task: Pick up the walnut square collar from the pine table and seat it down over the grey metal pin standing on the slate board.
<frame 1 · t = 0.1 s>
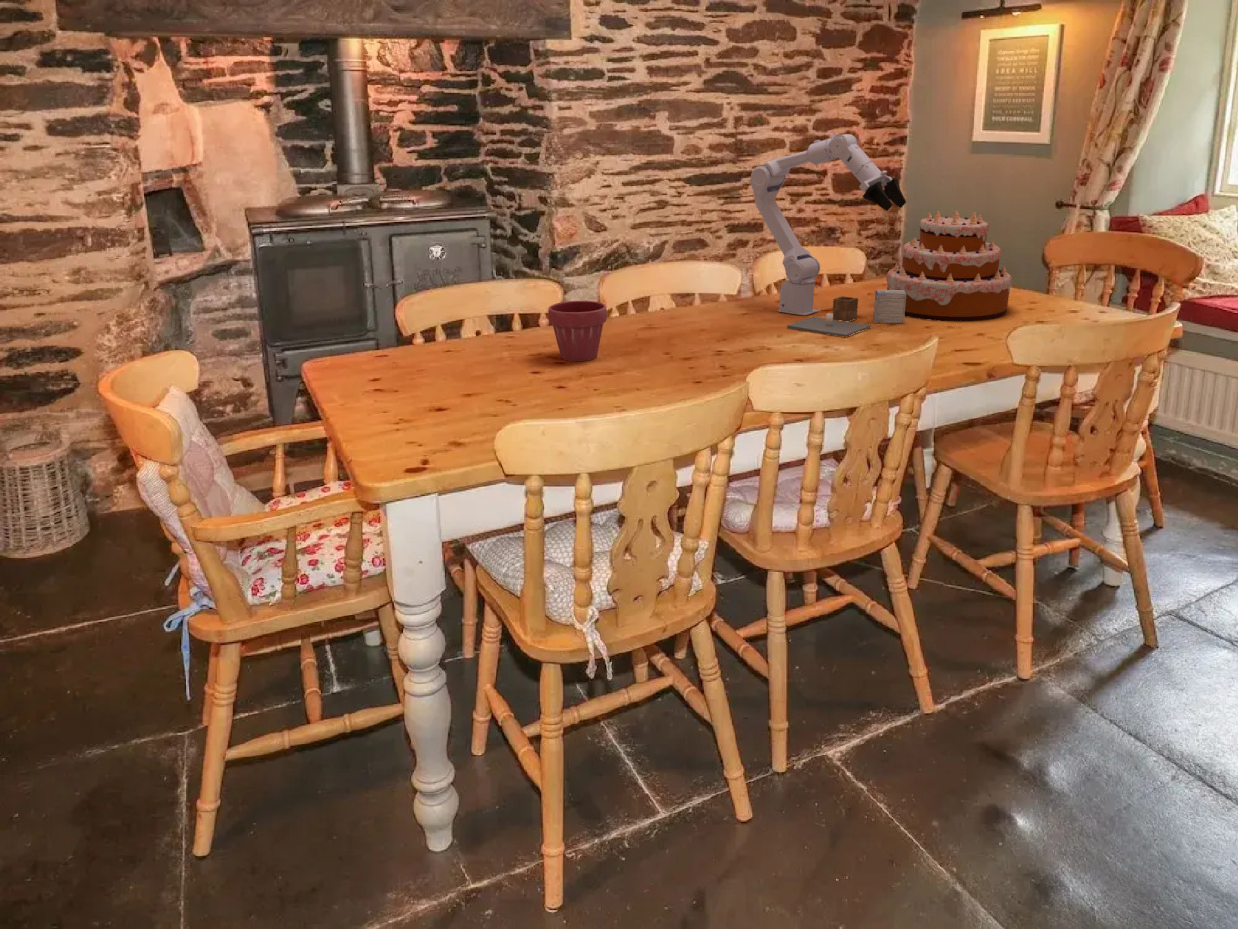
hand: (896, 206, 266), 32 cm above the table, tool tilted 50°, fingers open, 7 cm apart
walnut collar: (844, 319, 285), on the table
medicine box: (888, 322, 282), on the table
cake: (945, 309, 297), on the table
pin board: (829, 328, 275), on the table
plant pot: (578, 357, 250), on the table
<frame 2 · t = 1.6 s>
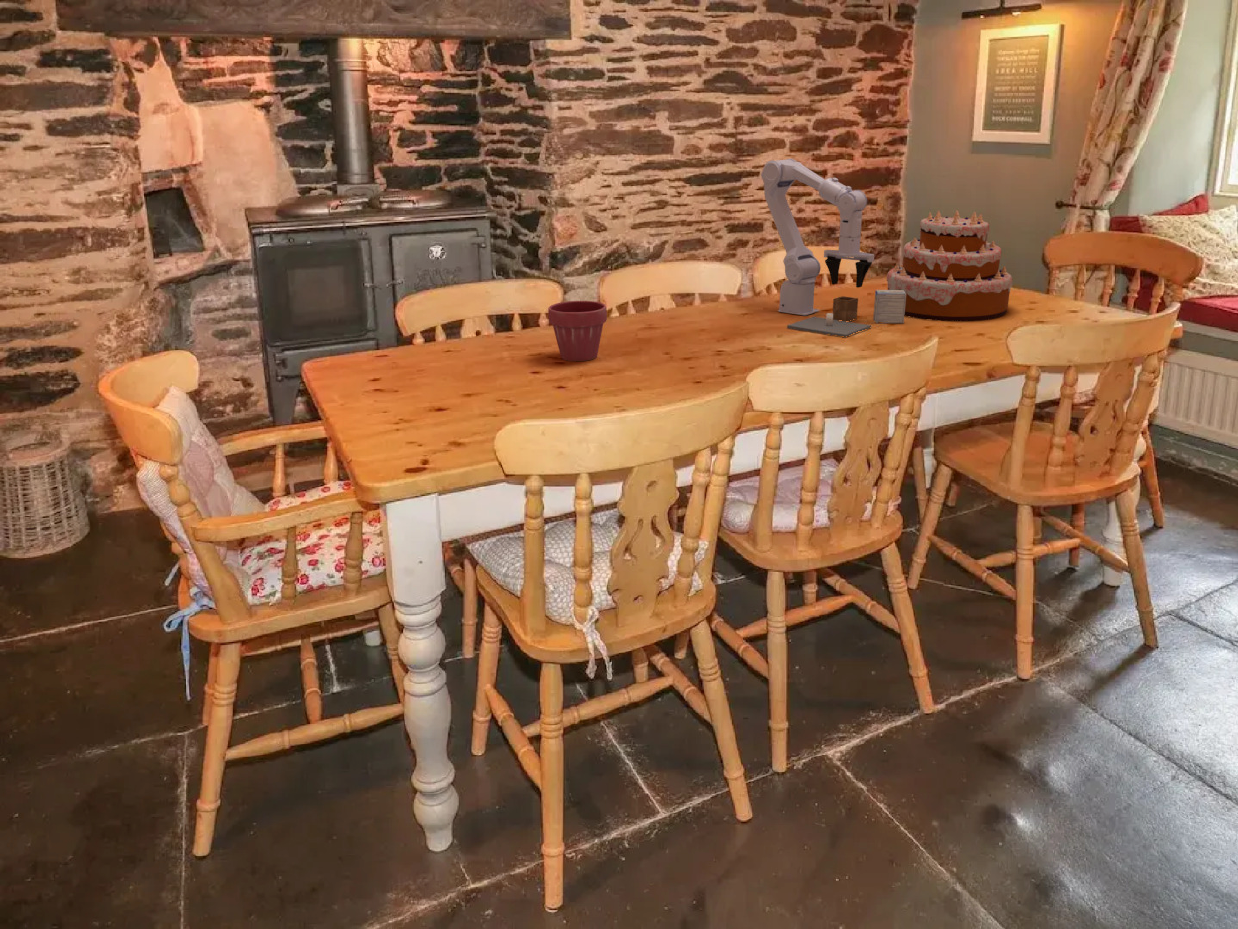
hand: (846, 285, 281), 10 cm above the table, tool pointing down, fingers open, 7 cm apart
nothing on the table moved.
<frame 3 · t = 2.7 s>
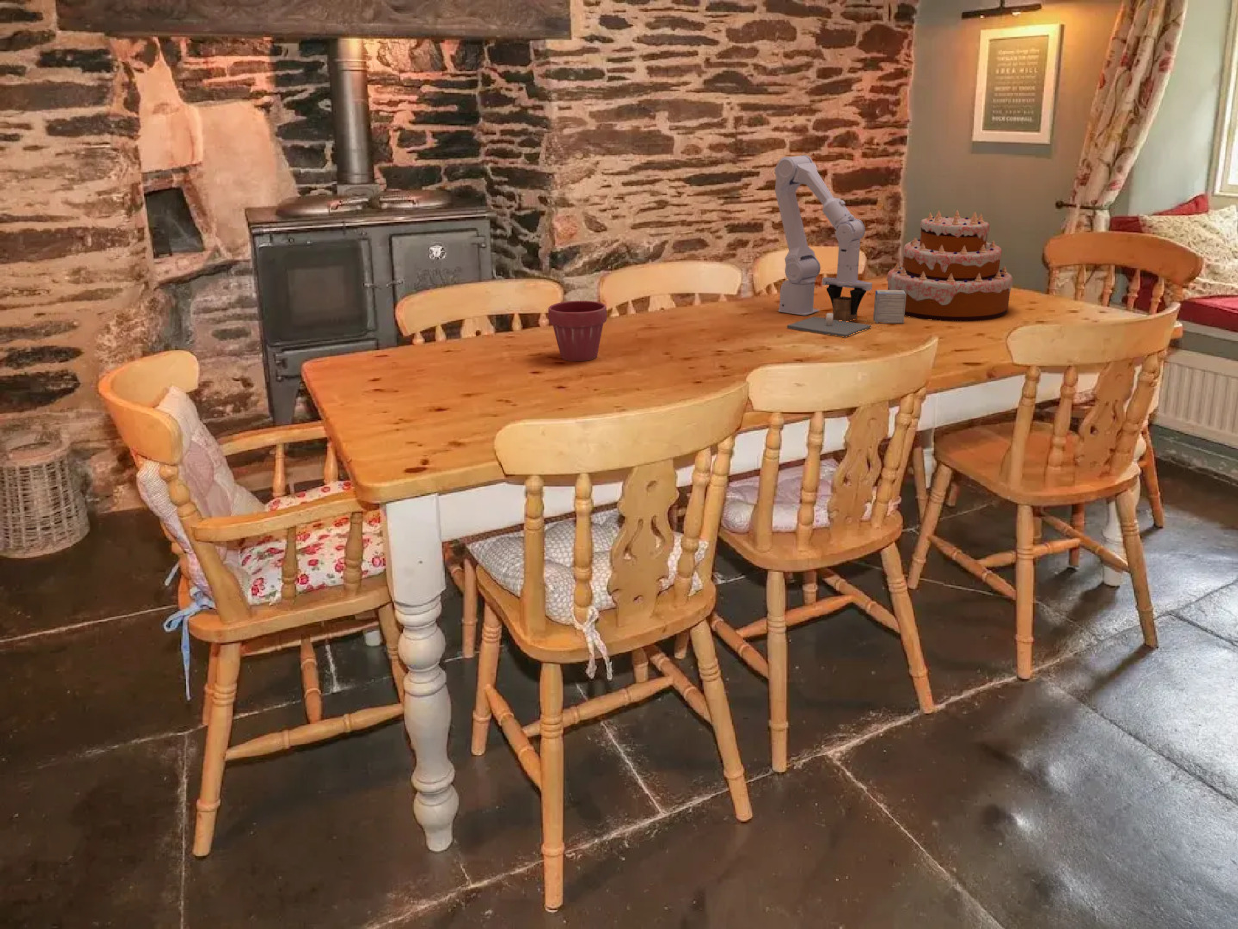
hand: (844, 312, 284), 2 cm above the table, tool pointing down, fingers closed on walnut collar, 5 cm apart
walnut collar: (844, 319, 285), on the table, touching gripper
everything else where it was.
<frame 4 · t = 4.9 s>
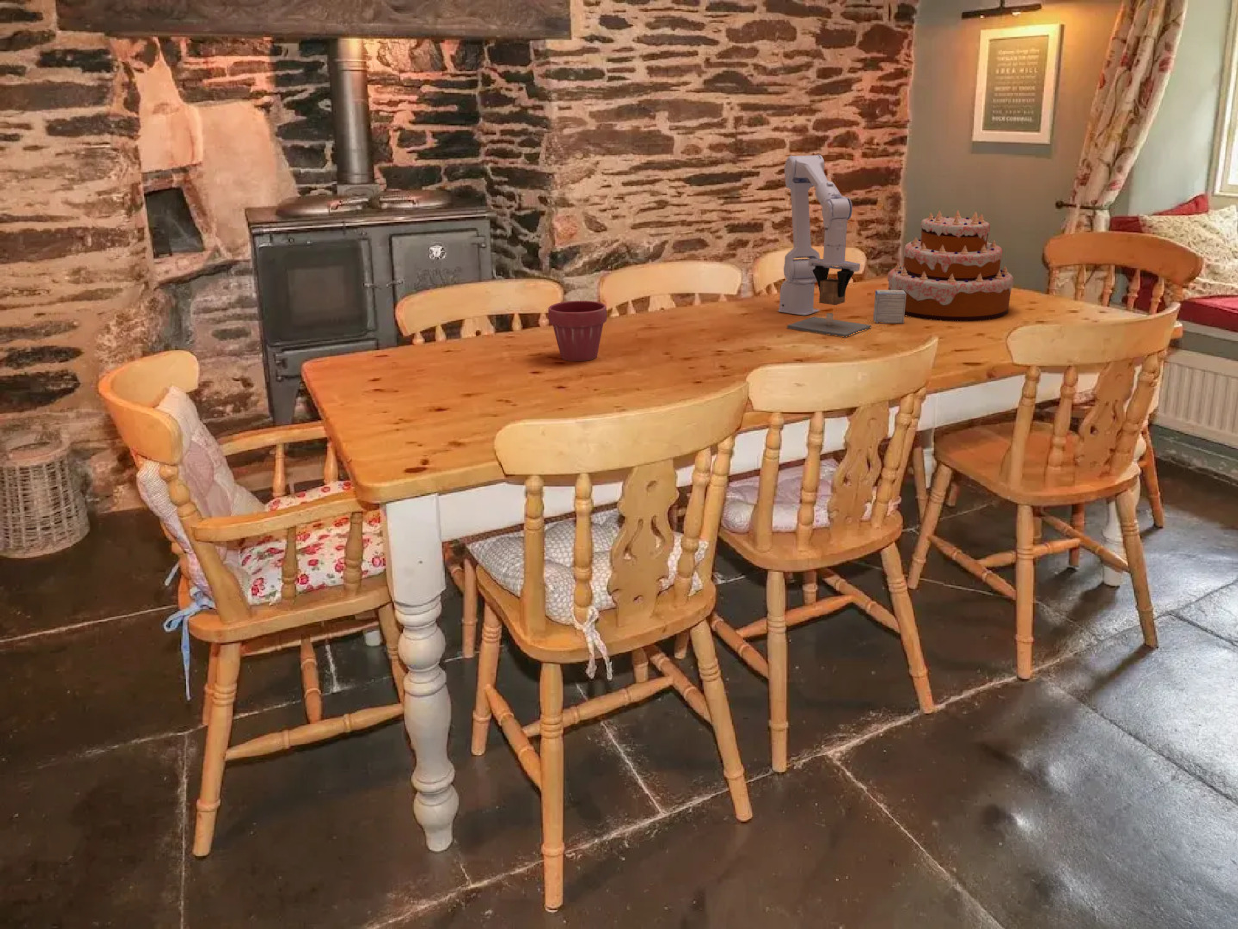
hand: (831, 295, 272), 9 cm above the table, tool pointing down, fingers closed on walnut collar, 5 cm apart
walnut collar: (831, 302, 273), point 7 cm above the table, touching gripper
everything else where it was.
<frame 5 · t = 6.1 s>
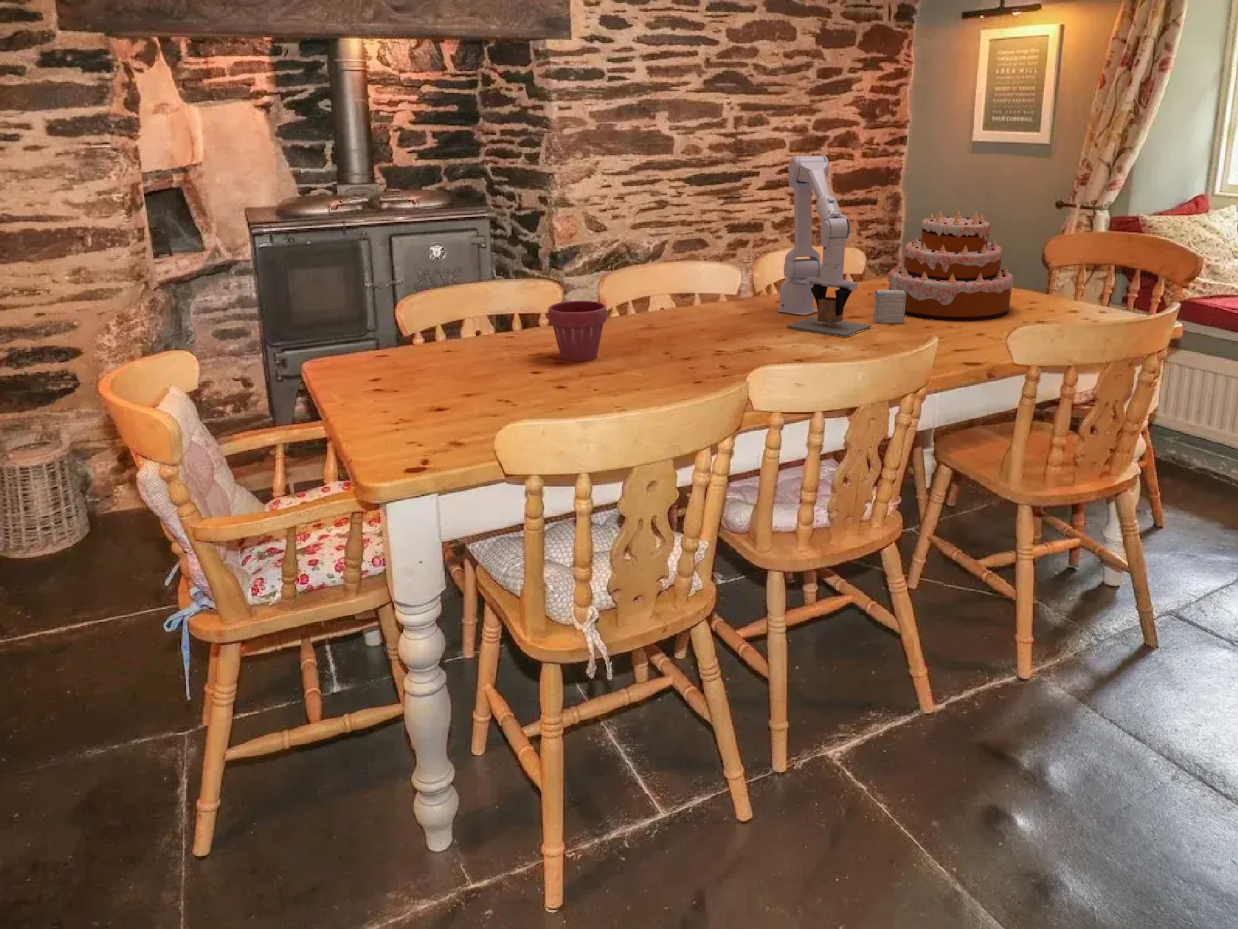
hand: (829, 313, 274), 4 cm above the table, tool pointing down, fingers closed on walnut collar, 5 cm apart
walnut collar: (830, 320, 275), point 2 cm above the table, touching gripper
everything else where it was.
when the fingers open (4 cm above the table, at t = 7.1 s): walnut collar stays where it is, resting on pin board.
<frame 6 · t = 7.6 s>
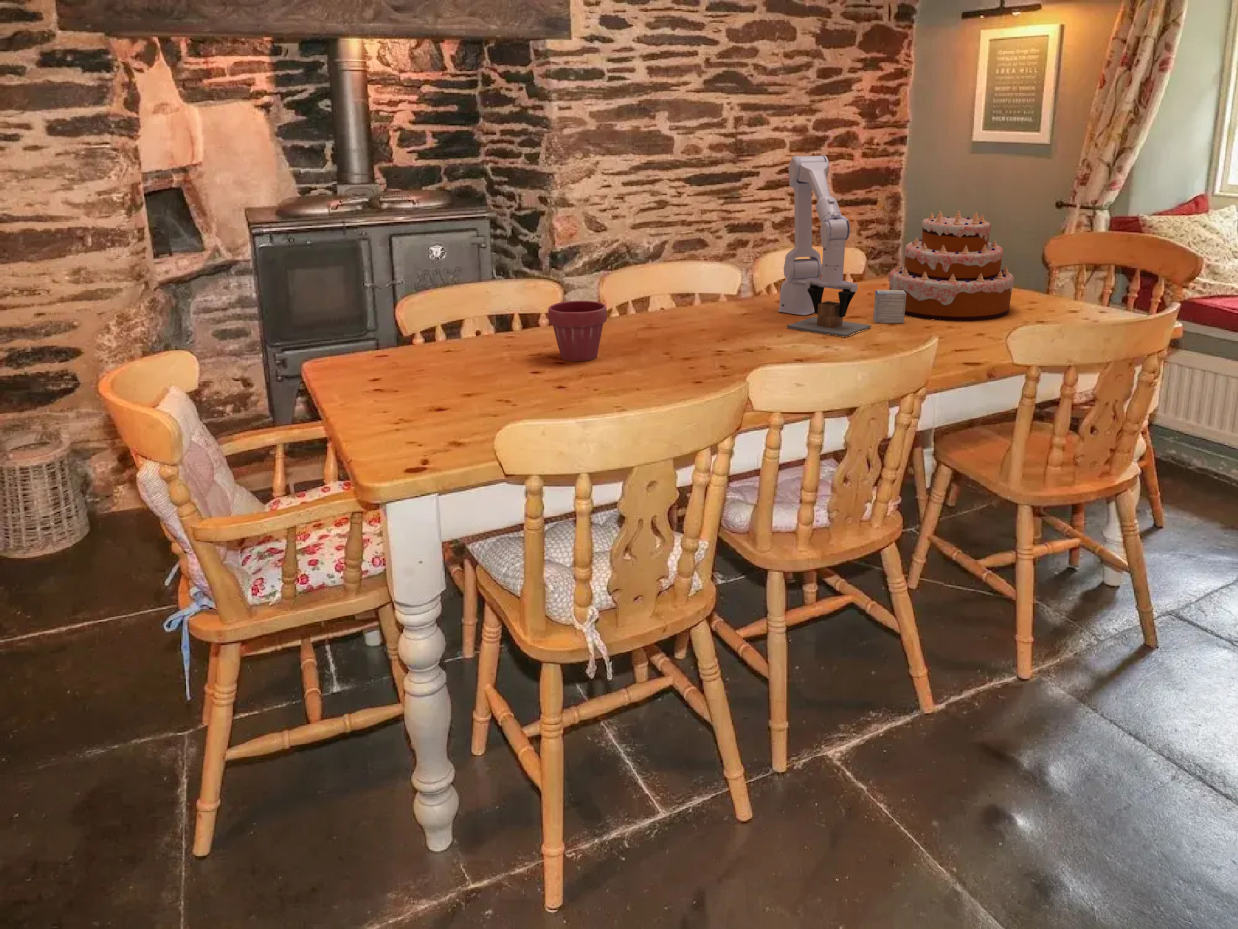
hand: (829, 314, 274), 4 cm above the table, tool pointing down, fingers open, 7 cm apart
walnut collar: (829, 325, 275), point 1 cm above the table, touching pin board
everything else where it was.
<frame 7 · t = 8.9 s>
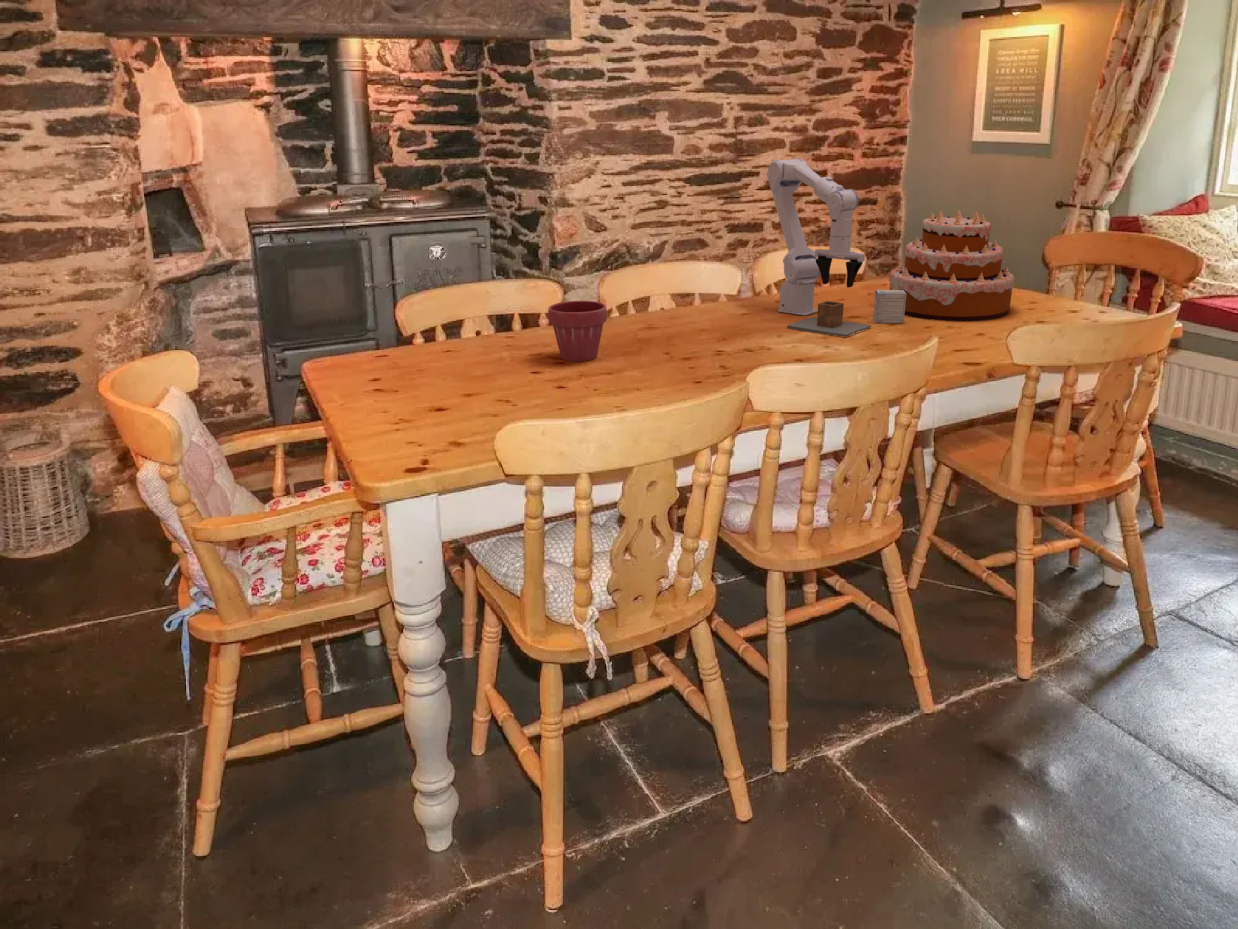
hand: (837, 285, 279), 10 cm above the table, tool pointing down, fingers open, 7 cm apart
nothing on the table moved.
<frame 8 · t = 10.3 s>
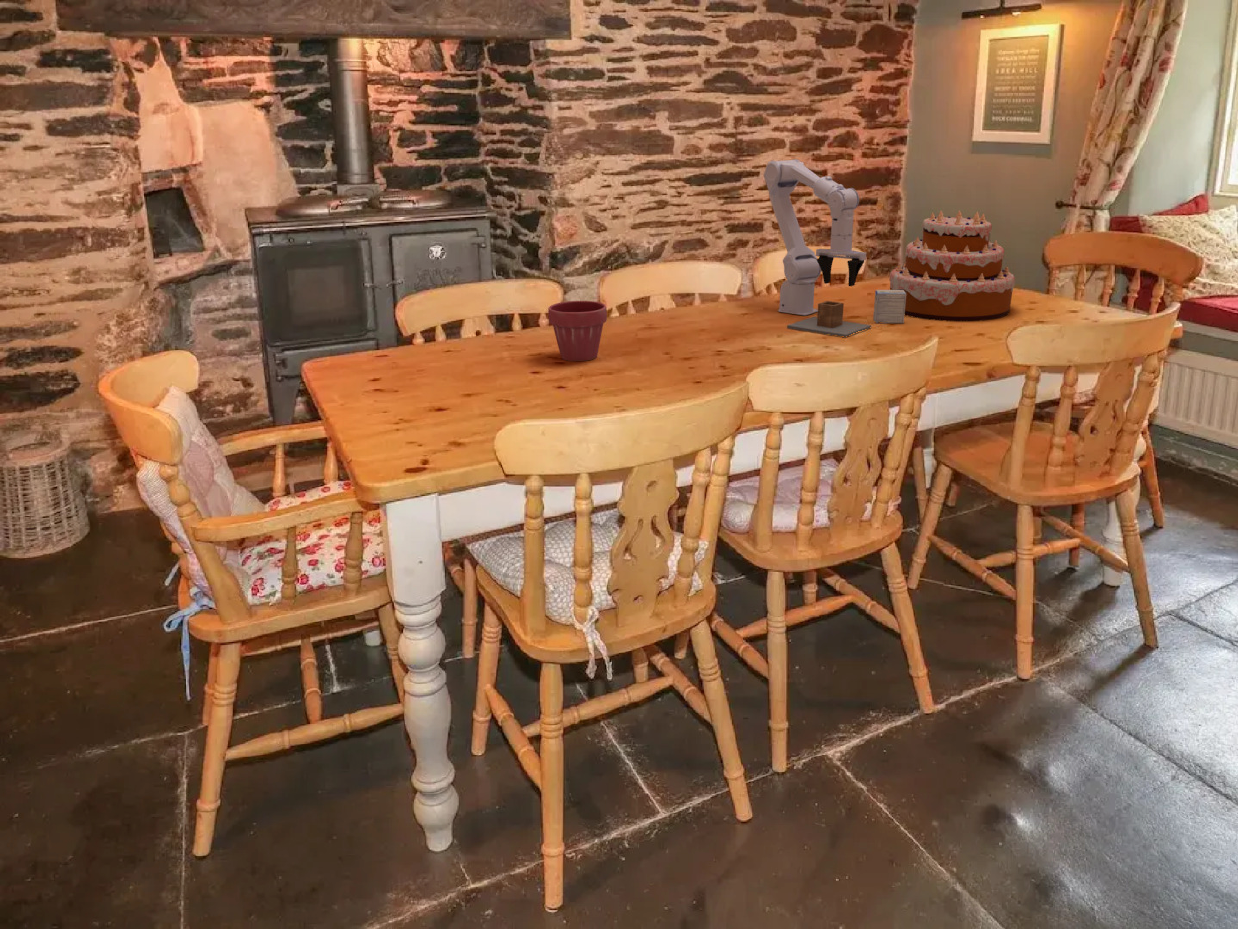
hand: (839, 284, 279), 10 cm above the table, tool pointing down, fingers open, 7 cm apart
nothing on the table moved.
at the end: walnut collar 0.2 cm off-centre on the pin board, point 0.8 cm above the pin board's base; walnut collar tilted 0°; the gripper is holding nothing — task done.
